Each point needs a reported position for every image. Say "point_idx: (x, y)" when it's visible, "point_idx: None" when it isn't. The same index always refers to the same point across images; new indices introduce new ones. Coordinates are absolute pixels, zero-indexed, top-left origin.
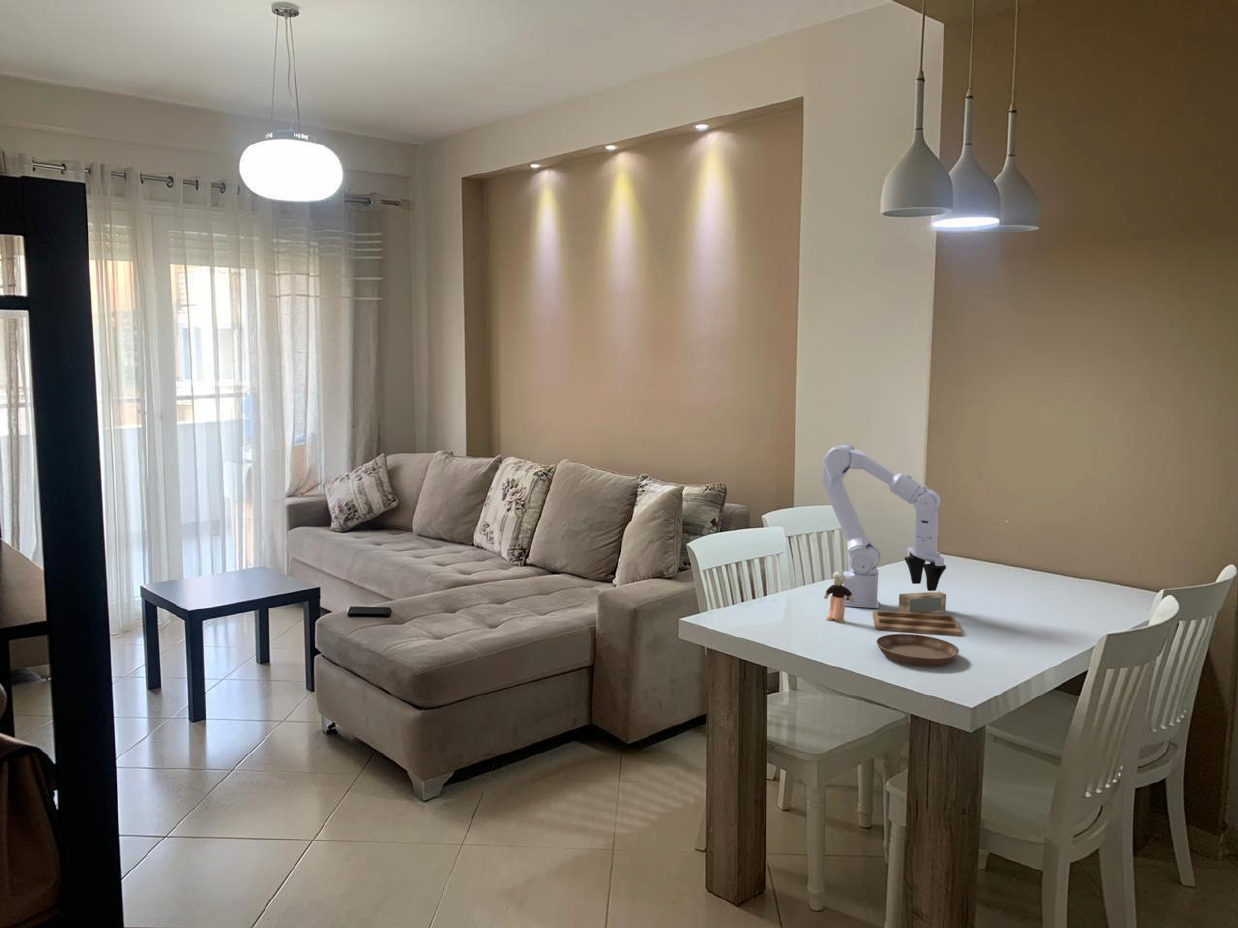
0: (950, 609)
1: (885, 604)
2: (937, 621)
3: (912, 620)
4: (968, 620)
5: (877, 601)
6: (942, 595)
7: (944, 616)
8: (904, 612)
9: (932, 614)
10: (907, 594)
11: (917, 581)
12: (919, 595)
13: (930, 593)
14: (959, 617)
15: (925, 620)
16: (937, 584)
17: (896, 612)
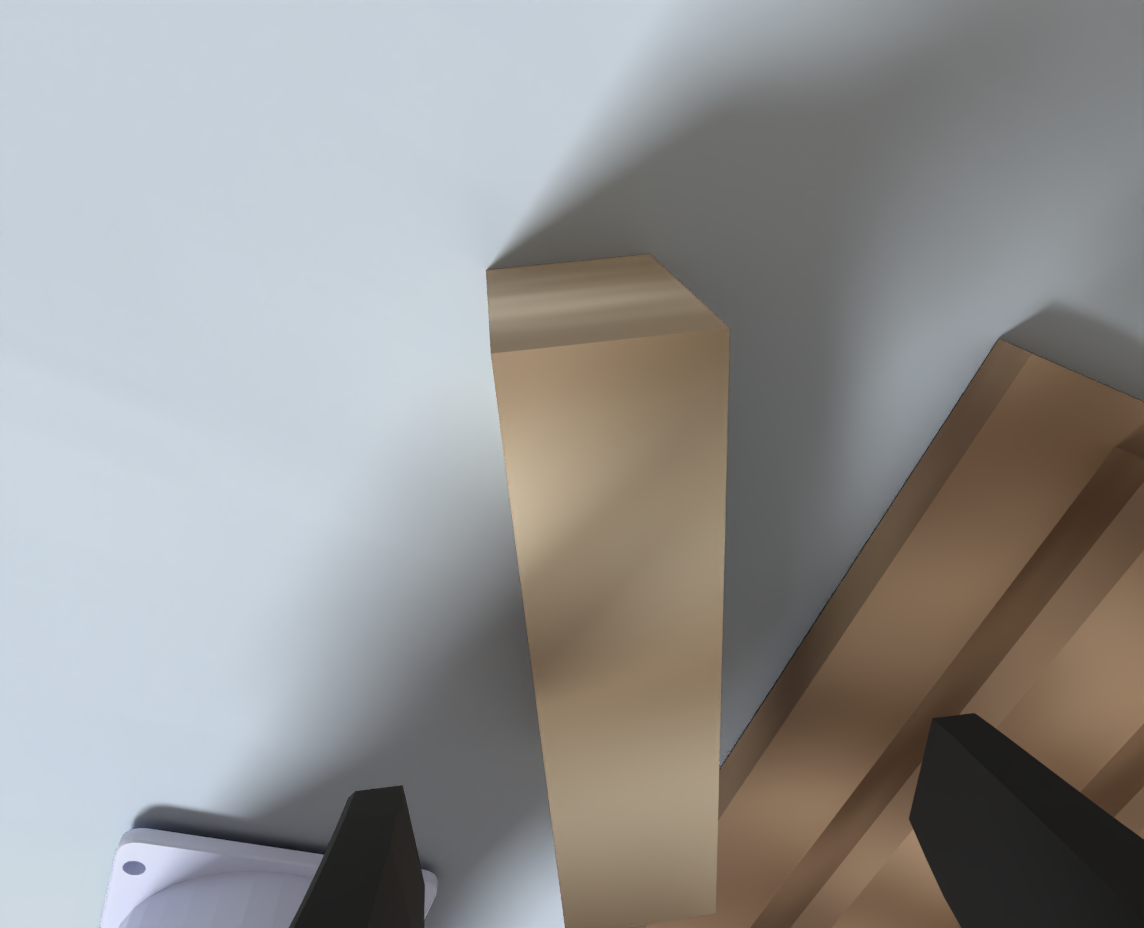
0: (519, 83)
1: (254, 779)
2: (1106, 612)
3: None
4: (1089, 134)
5: (218, 857)
6: (720, 400)
7: (1135, 552)
8: (859, 846)
9: (1023, 645)
10: (609, 870)
11: (406, 871)
12: (691, 760)
13: (603, 576)
14: (930, 186)
15: (1027, 698)
16: (1091, 804)
17: (837, 899)
